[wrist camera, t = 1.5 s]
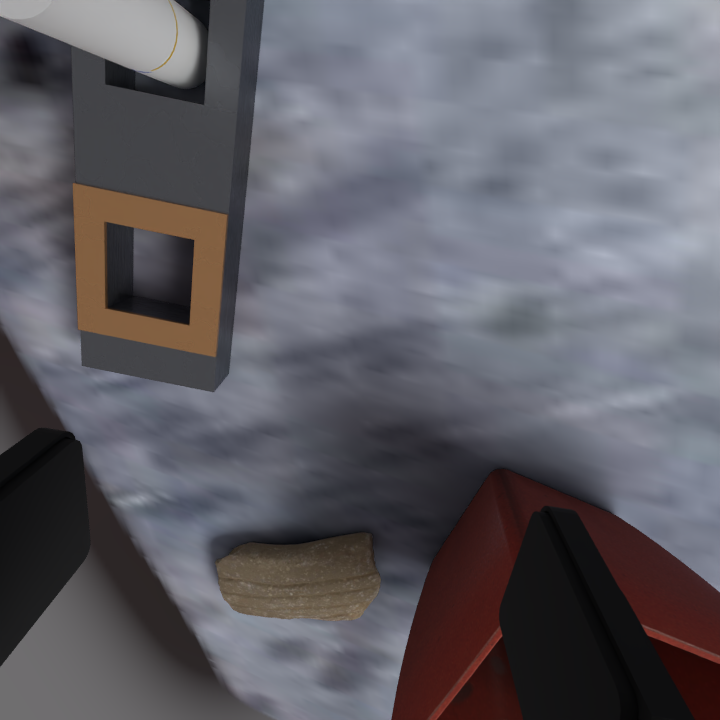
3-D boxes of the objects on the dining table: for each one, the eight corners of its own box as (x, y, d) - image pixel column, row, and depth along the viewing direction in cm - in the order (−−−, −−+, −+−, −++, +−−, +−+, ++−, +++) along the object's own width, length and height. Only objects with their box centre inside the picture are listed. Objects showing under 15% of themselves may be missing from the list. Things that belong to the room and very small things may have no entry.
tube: (200, 2, 29) (26, -156, 15) (223, 78, 31) (84, -1, 17) (138, 22, 30) (-84, -111, 16) (163, 96, 31) (-19, 34, 17)
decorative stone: (215, 535, 45) (202, 562, 42) (375, 524, 44) (374, 552, 40) (238, 610, 49) (228, 641, 46) (388, 603, 47) (387, 634, 44)
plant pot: (381, 576, 46) (376, 787, 30) (476, 419, 39) (535, 584, 23) (554, 642, 47) (635, 873, 32) (675, 502, 40) (855, 709, 25)
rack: (102, -127, 27) (59, -172, 24) (272, -90, 27) (255, -129, 24) (107, 349, 38) (79, 367, 35) (228, 373, 38) (212, 393, 35)
